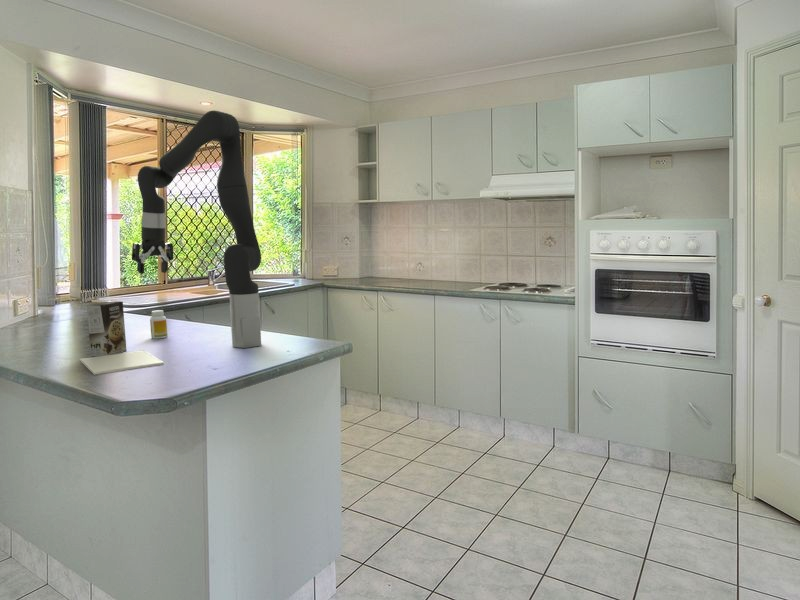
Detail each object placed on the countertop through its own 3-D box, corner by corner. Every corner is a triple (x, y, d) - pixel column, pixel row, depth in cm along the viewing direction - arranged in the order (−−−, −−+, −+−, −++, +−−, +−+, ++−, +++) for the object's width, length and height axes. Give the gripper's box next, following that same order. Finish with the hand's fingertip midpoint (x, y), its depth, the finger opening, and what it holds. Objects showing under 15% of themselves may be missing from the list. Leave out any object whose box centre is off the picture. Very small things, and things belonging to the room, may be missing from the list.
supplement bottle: (170, 336, 213) (168, 310, 212) (159, 339, 208) (157, 312, 207) (159, 335, 215) (157, 309, 214) (148, 338, 210) (145, 311, 209)
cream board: (163, 364, 169) (163, 362, 169) (94, 374, 158) (94, 372, 158) (144, 352, 186) (143, 350, 186) (80, 360, 176) (80, 358, 176)
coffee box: (108, 357, 180) (104, 304, 178) (90, 356, 182) (85, 304, 180) (127, 350, 189) (123, 301, 187) (110, 350, 190) (105, 300, 188)
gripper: (140, 226, 194) (139, 275, 197) (178, 227, 205) (177, 273, 208) (127, 224, 198) (127, 272, 201) (165, 225, 210) (164, 270, 212)
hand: (152, 273), depth 204 cm, fingers open, 8 cm apart
